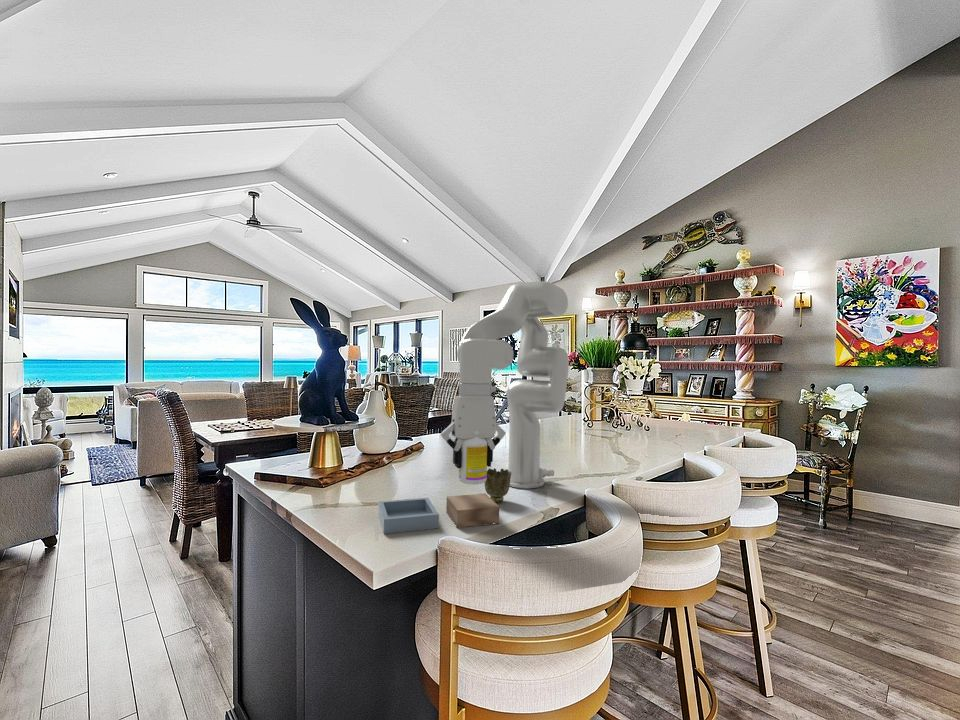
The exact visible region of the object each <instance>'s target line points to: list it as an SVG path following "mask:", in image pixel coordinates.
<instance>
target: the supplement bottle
mask: <svg viewBox="0 0 960 720" xmlns="http://www.w3.org/2000/svg"><path fill="white" fill-rule="evenodd" d="M474 434H475V435H478V434H479V432H478V431H475V432H474ZM460 451H461V452H462V457H461V468H458V481H459V482H460V483H463V484H466V485H481V484H483V483H484V482H485V481H486V479H487V471H488V466H487V440H486V439H481V438H478V437H474V438H472V439H467V440H464V441H463V443H462V445H461V447H460Z"/></svg>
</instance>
